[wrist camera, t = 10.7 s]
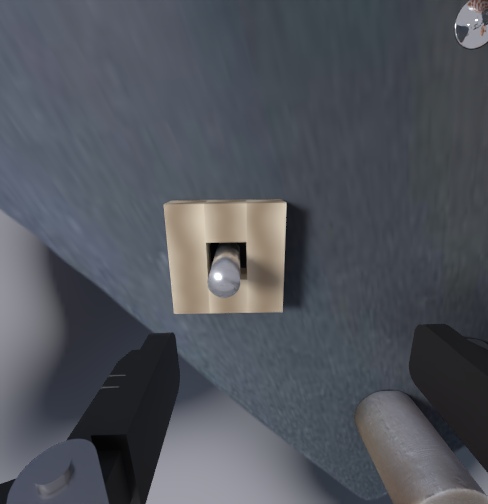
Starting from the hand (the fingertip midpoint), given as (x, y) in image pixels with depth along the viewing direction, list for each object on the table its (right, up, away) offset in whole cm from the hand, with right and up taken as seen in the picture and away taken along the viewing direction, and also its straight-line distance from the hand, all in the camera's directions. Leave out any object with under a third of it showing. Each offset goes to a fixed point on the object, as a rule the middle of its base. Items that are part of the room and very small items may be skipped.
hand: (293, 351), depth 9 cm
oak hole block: (-4, +3, +25) cm, 25 cm away
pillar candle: (+21, -22, +33) cm, 45 cm away
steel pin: (-4, +3, +25) cm, 25 cm away
